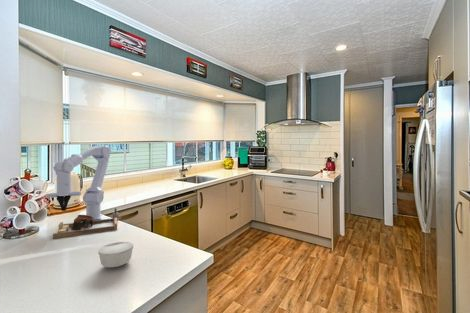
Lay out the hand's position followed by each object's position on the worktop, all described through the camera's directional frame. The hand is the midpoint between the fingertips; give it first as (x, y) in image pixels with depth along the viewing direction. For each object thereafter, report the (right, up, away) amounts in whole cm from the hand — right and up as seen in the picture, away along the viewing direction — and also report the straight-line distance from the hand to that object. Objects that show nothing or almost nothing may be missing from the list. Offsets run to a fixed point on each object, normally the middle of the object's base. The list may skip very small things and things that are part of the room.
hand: (64, 210), depth 117 cm
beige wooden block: (+3, -10, -4) cm, 11 cm away
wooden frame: (+12, -10, +1) cm, 16 cm away
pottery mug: (+10, -11, -1) cm, 15 cm away
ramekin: (+46, -10, -36) cm, 59 cm away
